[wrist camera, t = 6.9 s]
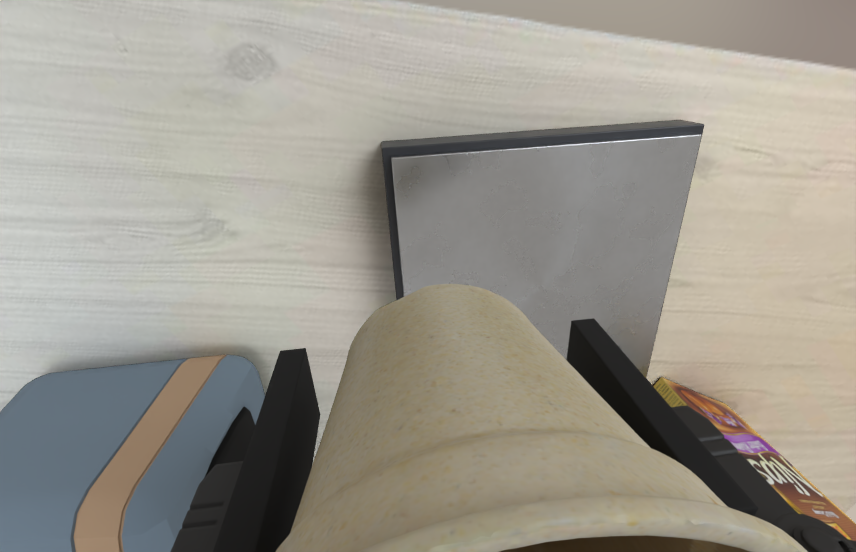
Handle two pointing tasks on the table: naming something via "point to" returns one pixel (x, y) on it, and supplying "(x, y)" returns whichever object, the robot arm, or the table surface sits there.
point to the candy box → (761, 457)
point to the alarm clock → (119, 451)
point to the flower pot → (494, 449)
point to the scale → (547, 221)
